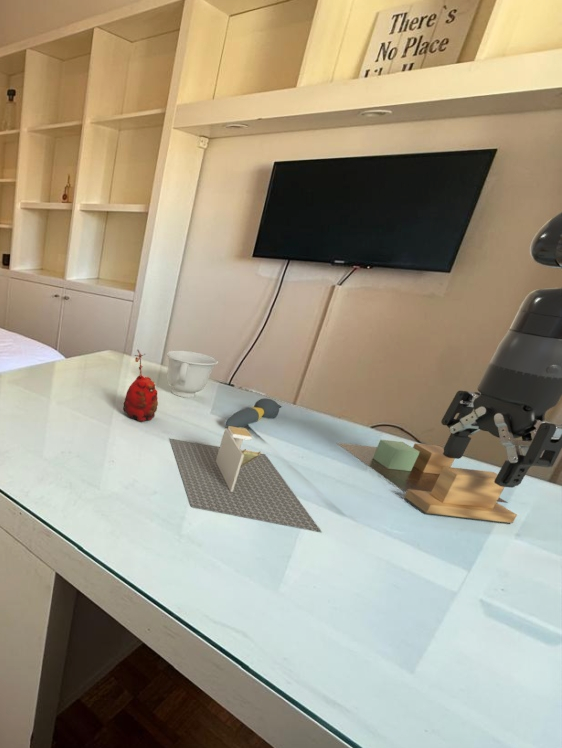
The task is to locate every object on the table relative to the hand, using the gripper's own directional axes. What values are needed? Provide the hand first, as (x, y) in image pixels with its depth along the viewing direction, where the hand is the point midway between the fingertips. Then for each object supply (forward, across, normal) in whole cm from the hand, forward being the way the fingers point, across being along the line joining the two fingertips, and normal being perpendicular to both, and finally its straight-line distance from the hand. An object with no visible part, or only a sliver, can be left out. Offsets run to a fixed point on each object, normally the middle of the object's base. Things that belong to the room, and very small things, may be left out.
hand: (475, 470), depth 68 cm
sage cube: (+7, +15, -1) cm, 17 cm away
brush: (+8, 0, 0) cm, 8 cm away
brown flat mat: (+8, +14, -4) cm, 17 cm away
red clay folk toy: (+9, +29, +42) cm, 52 cm away
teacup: (+9, +47, +27) cm, 55 cm away
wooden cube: (+7, +15, -7) cm, 18 cm away
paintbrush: (+9, +32, +16) cm, 37 cm away
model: (+9, +5, +31) cm, 32 cm away
